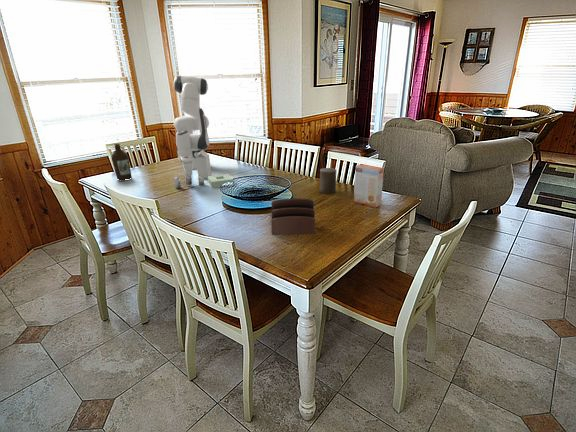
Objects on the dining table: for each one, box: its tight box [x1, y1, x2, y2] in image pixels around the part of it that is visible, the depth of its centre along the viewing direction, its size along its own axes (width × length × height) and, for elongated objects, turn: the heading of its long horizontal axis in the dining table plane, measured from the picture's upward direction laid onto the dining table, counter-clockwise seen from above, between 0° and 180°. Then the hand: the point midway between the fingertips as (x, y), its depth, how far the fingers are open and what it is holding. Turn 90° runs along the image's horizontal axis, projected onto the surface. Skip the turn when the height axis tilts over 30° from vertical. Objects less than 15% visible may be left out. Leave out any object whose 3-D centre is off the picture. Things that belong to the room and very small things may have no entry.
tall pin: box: [183, 169, 193, 186], centre depth 220 cm, size 4×4×10 cm
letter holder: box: [270, 197, 316, 235], centre depth 156 cm, size 10×20×14 cm, turn 90°
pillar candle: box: [319, 167, 337, 195], centre depth 204 cm, size 10×10×15 cm
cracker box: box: [353, 163, 385, 209], centre depth 183 cm, size 14×6×21 cm, turn 45°
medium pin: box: [173, 176, 182, 190], centre depth 218 cm, size 4×4×7 cm
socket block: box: [207, 173, 234, 189], centre depth 225 cm, size 14×14×4 cm
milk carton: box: [196, 150, 212, 179], centre depth 237 cm, size 7×7×19 cm
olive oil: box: [111, 142, 133, 180], centre depth 235 cm, size 11×11×25 cm
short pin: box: [197, 177, 205, 187], centre depth 224 cm, size 4×4×5 cm
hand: (188, 178), depth 220 cm, fingers closed on tall pin, 4 cm apart
